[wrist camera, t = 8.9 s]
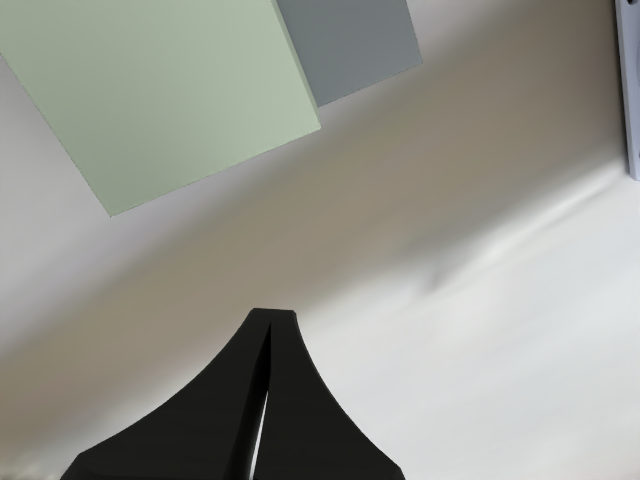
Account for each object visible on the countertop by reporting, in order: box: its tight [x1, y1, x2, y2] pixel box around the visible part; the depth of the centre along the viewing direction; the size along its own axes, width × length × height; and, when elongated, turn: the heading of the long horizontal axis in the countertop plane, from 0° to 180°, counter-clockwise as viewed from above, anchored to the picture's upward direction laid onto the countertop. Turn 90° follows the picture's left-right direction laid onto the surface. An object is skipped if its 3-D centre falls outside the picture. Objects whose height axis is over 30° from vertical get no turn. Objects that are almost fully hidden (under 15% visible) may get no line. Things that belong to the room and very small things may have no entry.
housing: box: [0, 0, 321, 217], centre depth 14 cm, size 8×7×6 cm
